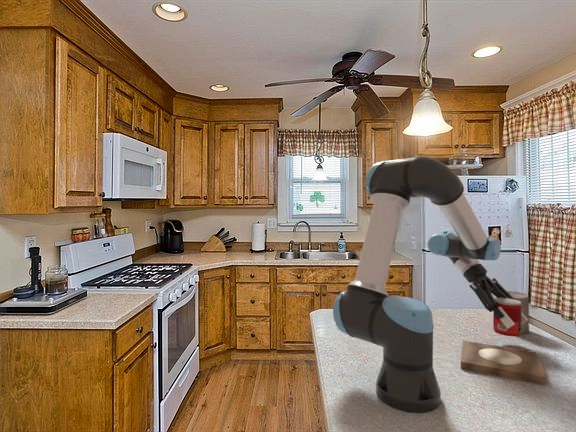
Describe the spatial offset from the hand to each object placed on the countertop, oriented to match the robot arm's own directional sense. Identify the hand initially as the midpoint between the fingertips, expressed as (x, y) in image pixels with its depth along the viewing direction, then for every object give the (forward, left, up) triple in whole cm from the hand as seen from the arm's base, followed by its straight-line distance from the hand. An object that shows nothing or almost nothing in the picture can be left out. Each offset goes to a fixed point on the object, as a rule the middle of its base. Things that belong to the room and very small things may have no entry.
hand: (517, 324), depth 114 cm
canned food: (-3, +2, -4) cm, 5 cm away
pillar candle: (0, +19, -8) cm, 20 cm away
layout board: (-6, -16, -8) cm, 19 cm away
